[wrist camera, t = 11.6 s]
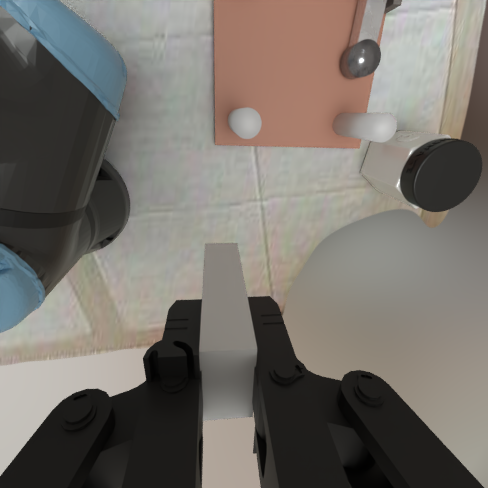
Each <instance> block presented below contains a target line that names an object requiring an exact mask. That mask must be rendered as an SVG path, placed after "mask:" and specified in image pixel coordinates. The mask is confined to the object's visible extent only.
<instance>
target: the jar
mask: <svg viewBox="0 0 488 488" xmlns="http://www.w3.org/2000/svg"><path fill="white" fill-rule="evenodd" d="M481 172H482V158H481V155H480V152H479V150H478V149H477V148H476V147H475V146H474V145H473V144H471V143H469V142H467V141H463V140H459V139H452V138H451V137H450V136H449V135H446V134H435V133H424V132H413V131H402V130H400V131H397V132H395V134H394V135H393V137H392V138H391V139H389V140H388V141H386V142H382V143H380V142H374V141H371V143H370V145H369V148H368V151H367V154H366V157H365V160H364V163H363V166H362V168H361V171H360V173H361V174H362V175H363V176H364V177H365V178H366V179H367V180H368V181H369V182H370V183H371V185H372V186H373V187H374V188H375V189H376V190H377V191H379V192H381V193H383V194H385V195H387V196H390V197H392V198H394V199H396V200H398V201H400V202H402V203H404V204H407V205H409V206H411V207H413V208H419V207H420V208H422V209H424V210H427V211H430V212H441V211H446V210H449V209H451V208H453V207H455V206H457V205H458V204H460V203H461V202H463V201H464V200H465V199H466V198H467V197H468V196H469V195H470V193H471V192H472V191H473V190H474V188H475V187H476V185H477V183H478V181H479V178H480V176H481Z"/></svg>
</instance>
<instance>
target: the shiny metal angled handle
mask: <svg viewBox="0 0 488 488" xmlns="http://www.w3.org/2000/svg"><path fill="white" fill-rule="evenodd" d="M386 2H387V0H358V4H357V9H356V13H355V18H354V23H353V28H352V33H351V37H350V42H349V47H348V48H347V49H346V50H345V51H344V52H343V54H342V56H341V59H340V70H341V73H342V74H343V76H344V77H346V78H348V79H357V78H361V77H365V76H368V75H370V74H372V73H373V72H374V71H375V70H376V68H377V67H378V65H379V62H380V58H381V52H380V48H379V46H378V44H377V39H378V35H379V31H380V27H381V23H382V19H383V15H384V10H385V6H386Z"/></svg>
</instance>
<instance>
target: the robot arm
mask: <svg viewBox="0 0 488 488" xmlns="http://www.w3.org/2000/svg"><path fill="white" fill-rule="evenodd" d="M126 81H127V70H126V66H125V63H124V61H123V59H122V57H121V56H120V54H119V53H118V51H117V50H116V49H115V48H114V47H113V46H112V45H111V44H110V43H109V42H108V41H107V40H106V39H105V38H104V37H103V36H102V35H101V34H100V33H98V32H97V31H96V30H95V29H94V28H92V27H91V26H90V25H89V24H88V23H87V22H85V21H84V20H83V19H82V18H81V17H79V16H78V15H77V14H76V13H74V12H73V11H72V10H71V9H69V8H68V7H67V6H66V5H64V4H63V3H62V2H61V1H59V0H0V333H1V332H4V331H7V330H9V329H11V328H13V327H14V326H16V325H17V324H19V323H20V322H21V321H22V320H23V319H24V318H25V317H27V316H28V315H29V314H30V313H31V312H32V311H34V310H36V309H37V308H39V307H40V306H41V304H42V303H43V301H44V300H45V297H46V296H47V295H48V294H49V293H50V292H51V291H52V289H53V288H54V287H55V286H56V285H57V284H58V283H59V282H60V280H61V279H62V278H63V277H64V276H65V275H66V274H67V273H68V272H69V270H70V269H71V268H72V267H73V266H74V265H75V264H76V263H77V261H78V260H79V259H80V258H81V257H82V256H83V255H85V254H88V253H91V252H94V251H97V250H99V249H102V248H104V247H105V246H107V245H109V244H110V243H111V242H112V241H114V240H115V239H116V238H117V236H118V235H119V234H120V233H121V231H122V230H123V228H124V227H125V225H126V223H127V221H128V217H129V212H130V200H129V195H128V191H127V188H126V186H125V184H124V182H123V180H122V178H121V177H120V175H119V174H118V173H117V171H116V170H115V169H114V168H113V167H112V166H111V165H110V164H109V163H108V162H107V161H106V160H105V159H103V157H104V154H105V151H106V148H107V145H108V142H109V139H110V136H111V133H112V130H113V127H114V124H115V121H118V120H119V117H120V115H119V113H118V111H119V107H120V103H121V100H122V96H123V93H124V89H125V85H126ZM143 362H144V368H145V375H146V381H145V382H144V383H142V384H141V385H139V386H138V387H136V388H134V389H131V390H129V391H127V392H123V393H120V394H118V395H115V396H112V397H109V396H108V394H107V393H106V392H104V391H102V390H99V389H85V390H82V391H79V392H76V393H74V394H72V395H71V396H69V397H67V398H66V399H64V400H62V402H60V403H59V405H58V406H56V407H55V408H54V409H53V410H52V412H51V413H50V414H49V415H48V417H47V418H46V419H45V420H44V422H43V423H42V424H41V426H40V427H39V428H38V429H37V431H36V432H35V433H34V434H33V436H32V437H31V438H30V439H29V441H28V442H27V443H26V444H25V446H24V447H23V448H22V449H21V451H20V452H19V453H18V455H17V456H16V457H15V458H14V460H13V461H12V462H11V463H10V465H9V466H8V467H7V468H6V470H5V471H4V472H3V474H2V475H1V476H0V488H202V459H203V434H202V429H203V421H205V420H217V419H231V418H243V417H252V416H253V412H254V418H255V436H254V448H253V453H257V461H258V469H259V477H260V484H261V488H484V487H483V486H482V485H481V484H480V483H479V482H478V480H476V478H475V477H474V476H473V475H472V474H471V473H470V472H469V471H468V470H467V469H466V467H465V466H464V465H463V464H462V463H461V462H460V461H459V460H458V459H457V458H456V457H455V456H454V455H453V453H452V452H451V451H450V450H449V449H448V448H447V447H446V446H445V445H444V444H443V443H442V442H441V441H440V440H439V438H437V436H436V435H435V434H434V433H433V432H432V431H431V430H430V429H429V428H428V426H427V425H426V424H425V423H424V422H423V421H422V420H421V419H420V418H419V417H418V416H417V415H416V413H415V412H414V411H413V410H412V409H411V408H410V407H409V406H408V405H407V404H406V403H405V402H404V401H403V399H402V398H401V397H400V396H399V395H398V394H397V393H396V392H395V391H394V390H393V389H392V388H391V387H390V386H389V384H387V383H386V382H385V381H384V380H383V379H381V378H380V377H378V376H376V375H374V374H372V373H370V372H366V371H361V370H357V371H351V372H349V373H347V374H345V375H344V377H343V379H342V381H340V380H335V379H331V378H326V377H322V376H319V375H316V374H314V373H312V372H310V371H308V370H307V369H306V367H305V366H304V364H303V363H301V362H300V361H299V360H298V359H297V358H296V356H295V353H294V350H293V347H292V344H291V341H290V338H289V336H288V333H287V330H286V327H285V324H284V321H283V318H282V316H281V312H280V309H279V306H278V304H277V303H276V302H275V301H274V300H273V299H272V298H271V297H270V296H263V297H247V292H246V287H245V281H244V276H243V271H242V266H241V260H240V255H239V250H238V245H237V243H207V244H205V255H204V273H203V291H202V299H201V300H176V302H175V303H174V304H173V305H172V306H171V307H170V309H169V311H168V315H167V322H166V325H165V331H164V334H163V338H162V340H161V341H159V342H157V343H155V344H154V345H152V346H151V347H150V348H149V349H148V350H147V352H146V354H145V355H144V357H143Z"/></svg>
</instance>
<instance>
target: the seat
mask: <svg viewBox="0 0 488 488" xmlns="http://www.w3.org/2000/svg"><path fill="white" fill-rule="evenodd" d="M401 2H402V0H387V2H386V6H385V10H384V15H383V19H382V23H381V27H380V31H379V35H378V39H377V44H378V46H380V41H381V36H382V31H383V25H384V20H385V15H386V13H388V12H389V11H391V10H393V9H395V8H396V7H398V6H400V5H401ZM357 4H358V0H214V78H215V145H239V146H280V147H322V148H360V143H361V139H363V140H368V141H374V142H380V143H382V142H386V141H388V140H389V139H391V138H392V137H393V135H394V134H395V132H396V129H397V120H396V118H395V116H394V115H393V114H391V113H366V112H367V107H368V102H369V97H370V92H371V87H372V81H373V76H374V72H373V73H372V74H370V75H368V76H365V77H361V78H357V79H348V78H346V77H344V76H343V74H342V73H341V70H340V59H341V56H342V54H343V52H344V51H345V50H346V49H347V48H348V47H349V42H350V37H351V33H352V28H353V23H354V18H355V13H356V9H357Z"/></svg>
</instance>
